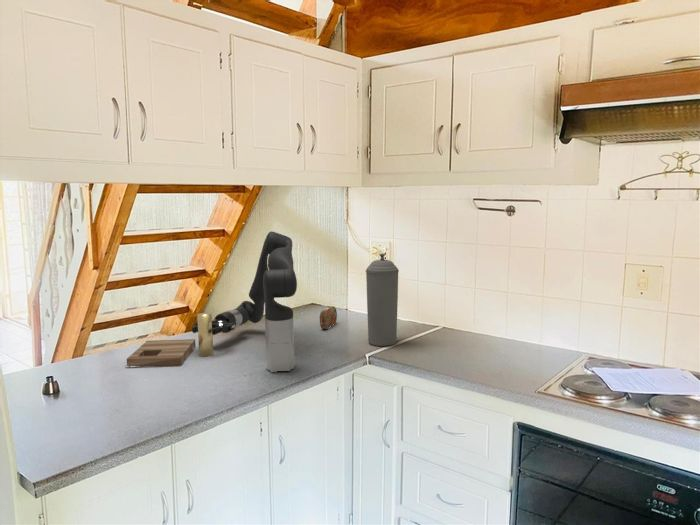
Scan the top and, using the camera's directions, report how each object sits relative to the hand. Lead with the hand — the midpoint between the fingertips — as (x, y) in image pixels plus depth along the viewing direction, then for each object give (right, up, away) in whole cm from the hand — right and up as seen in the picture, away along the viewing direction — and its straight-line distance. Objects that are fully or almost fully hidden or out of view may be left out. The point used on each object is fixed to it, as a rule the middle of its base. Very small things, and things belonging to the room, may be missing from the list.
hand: (202, 331), depth 183 cm
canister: (+66, -7, +15) cm, 68 cm away
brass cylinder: (+1, -9, +2) cm, 9 cm away
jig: (-14, -9, 0) cm, 17 cm away
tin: (+44, -4, +40) cm, 59 cm away
